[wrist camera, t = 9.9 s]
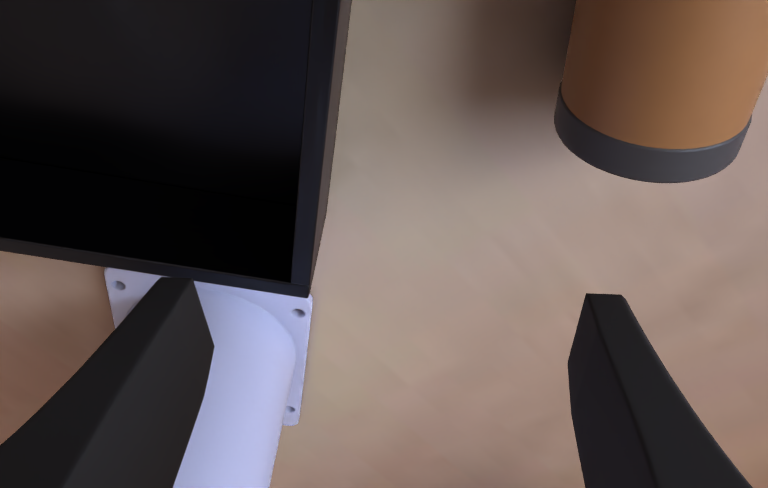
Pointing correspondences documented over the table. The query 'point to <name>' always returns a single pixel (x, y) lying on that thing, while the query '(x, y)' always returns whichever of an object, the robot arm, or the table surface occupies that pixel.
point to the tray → (171, 135)
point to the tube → (662, 85)
